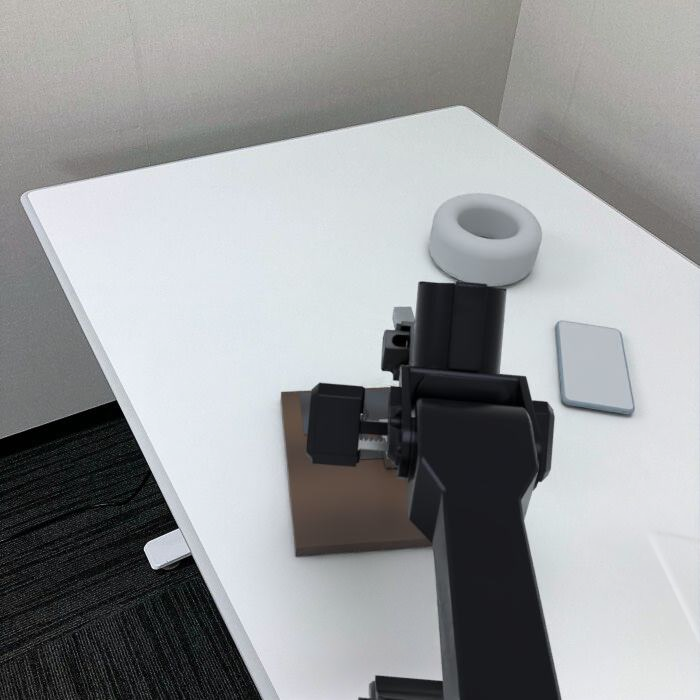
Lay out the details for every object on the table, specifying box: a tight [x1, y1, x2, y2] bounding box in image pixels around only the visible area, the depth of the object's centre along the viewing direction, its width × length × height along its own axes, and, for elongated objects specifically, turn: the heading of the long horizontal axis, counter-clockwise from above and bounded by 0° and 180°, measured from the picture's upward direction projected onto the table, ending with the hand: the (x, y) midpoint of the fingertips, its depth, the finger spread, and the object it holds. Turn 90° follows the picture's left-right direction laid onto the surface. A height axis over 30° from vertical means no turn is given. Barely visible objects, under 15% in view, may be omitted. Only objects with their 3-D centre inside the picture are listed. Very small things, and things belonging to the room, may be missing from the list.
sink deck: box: [280, 386, 433, 558], centre depth 80 cm, size 20×20×2 cm
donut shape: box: [428, 192, 543, 287], centre depth 107 cm, size 15×15×7 cm
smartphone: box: [555, 320, 636, 415], centre depth 94 cm, size 8×1×15 cm
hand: (417, 425), depth 68 cm, fingers open, 9 cm apart
